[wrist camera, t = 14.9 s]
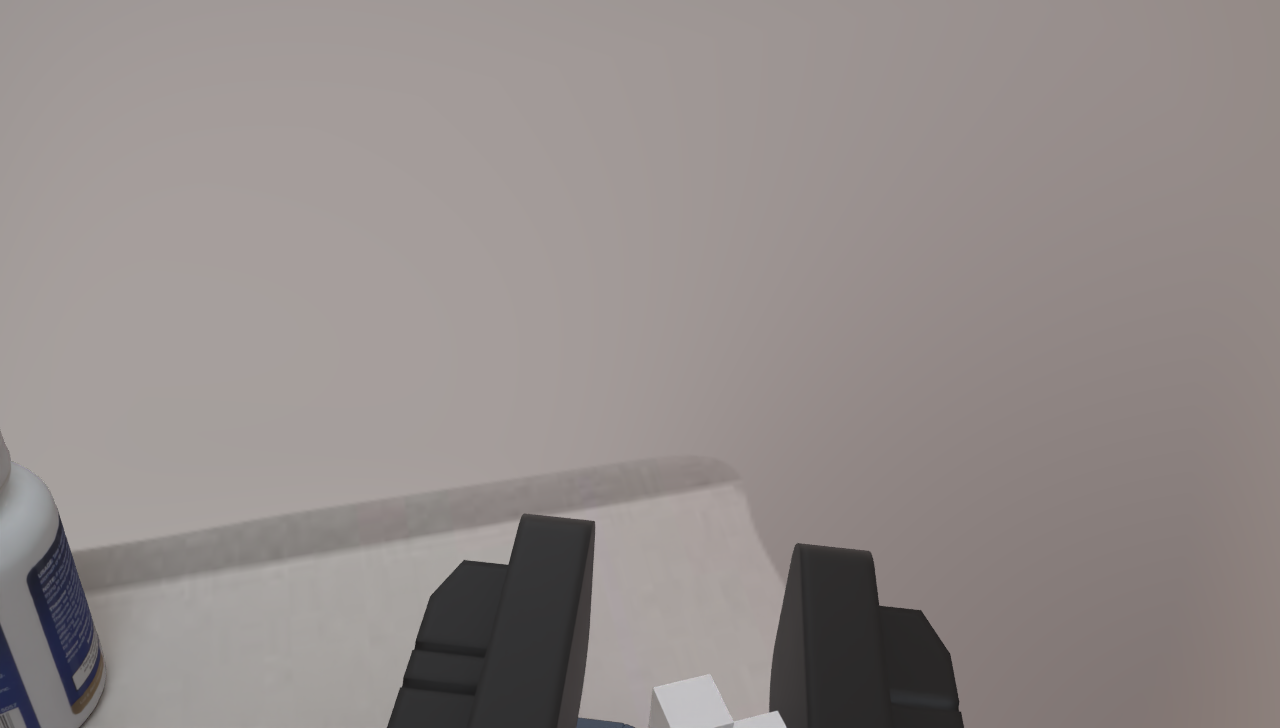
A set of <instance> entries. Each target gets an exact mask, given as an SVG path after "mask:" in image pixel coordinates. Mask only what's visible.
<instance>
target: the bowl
mask: <svg viewBox="0 0 1280 728" xmlns="http://www.w3.org/2000/svg"><path fill="white" fill-rule="evenodd" d="M576 728H635V727H633V726H630V725H628V724H625V725H624V723H619V722H611V721H602V720H594V719H586V718H578V720H577V726H576Z"/></svg>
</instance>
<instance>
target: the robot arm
mask: <svg viewBox="0 0 1280 728" xmlns="http://www.w3.org/2000/svg"><path fill="white" fill-rule="evenodd" d="M594 542H595V521H589V520H579V519H570V518H561V517H551V516H542V515H533V514H523V515H522V517H521V520H520V523H519V526H518V530H517V534H516V538H515V542H514V546H513V549H512V553H511V557H510V561H509V565H504V564H495V563H486V562H476V561H467V560H464V561H463V562H462V563H461V564H460V565H459V566H458V567H457V568H456V569H455V570H454V571H453V572H452V574H451V575H450V576H449V577H448V578H447V579H446V580H445V581H444V582H443V583H442V584H441V585H440V586H439V588H438V589H437V590H436V591H435V592H434V593H433V594H432V595H431V596H430V599H429V602H428V605H427V608H426V611H425V614H424V617H423V620H422V623H421V626H420V629H419V632H418V635H417V638H416V644H415V649H414V650H412V654H411V657H410V660H409V663H408V666H407V669H406V672H405V675H404V678H403V686H402V688H400V690H399V693H398V696H397V699H396V702H395V705H394V708H393V711H392V714H391V717H390V720H389V723H388V726H387V728H576V726H577V720H578V714H579V708H580V701H581V695H582V689H583V682H584V675H585V667H586V659H587V650H588V640H589V628H590V612H591V595H592V577H593V560H594ZM958 706H959V698H958V693H957V688H956V683H955V677H954V672H953V666H952V661H951V656H950V653H949V652H948V650H947V649H946V647H945V646H944V644H943V643H942V641H941V640H940V638H939V637H938V635H937V634H936V632H935V631H934V629H933V628H932V626H931V625H930V623H929V622H928V620H927V619H926V617H925V616H924V614H923V613H922V611H921V610H913V609H904V608H894V607H885V606H879V600H878V592H877V585H876V576H875V568H874V561H873V558H872V554H871V552H869V551H864V550H855V549H846V548H835V547H827V546H818V545H809V544H799V543H798V544H796V545H795V547H794V551H793V554H792V559H791V564H790V569H789V574H788V580H787V584H786V590H785V595H784V600H783V605H782V610H781V615H780V620H779V625H778V630H777V636H776V641H775V646H774V653H773V660H772V669H771V681H770V702H769V713H770V712H774V711H778V712H779V714H780V716H781V718H782V720H783V722H784V723H785V725H786V727H787V728H964V725H963V721H962V715H961V712H959V709H958Z"/></svg>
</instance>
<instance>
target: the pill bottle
mask: <svg viewBox="0 0 1280 728" xmlns="http://www.w3.org/2000/svg"><path fill="white" fill-rule="evenodd" d="M105 679H106V666H105V661H104V656H103V652H102V648H101V644H100V640H99V638H98V635H97V632H96V629H95V626H94V623H93V620H92V616H91V613H90V610H89V607H88V604H87V600H86V597H85V594H84V591H83V588H82V585H81V582H80V579H79V576H78V573H77V569H76V566H75V563H74V560H73V557H72V554H71V550H70V547H69V544H68V542H67V538H66V535H65V532H64V528H63V525H62V522H61V519H60V516H59V512H58V509H57V506H56V504H55V502H54V499H53V497H52V495H51V492H50V491H49V489H48V487H47V486H46V484H45V483H44V482H43V481H42V479H41V478H40V477H39V476H37V475H36V474H35V473H33V472H32V471H31V470H29V469H28V468H26V467H24V466H22V465H20V464H18V463H16V462H13V461H11V459H10V454H9V450H8V448H7V447H6V445H5V442H4V439H3V437H2V434H1V431H0V728H79V727H80V726H81V725H82V724H83V723H84V721H85V720H86V719H87V718H88V717H89V715H90V714H91V712H92V711H93V710H94V708H95V707H96V705H97V703H98V700H99V698H100V696H101V694H102V691H103V689H104V685H105Z"/></svg>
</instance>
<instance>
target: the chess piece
mask: <svg viewBox="0 0 1280 728" xmlns="http://www.w3.org/2000/svg"><path fill="white" fill-rule="evenodd" d="M649 728H787V727H786V725H785V723H784V722H783V720H782V718H781V716H780V714H779V712H778V711H774V712H770V713H766V714H762V715H758V716H754V717H750V718H746V719H743V720H739V721H735V722H734V721H733V719H732V717H731V715H730V713H729V711H728V709H727V707H726V705H725V703H724V701H723V699H722V697H721V695H720V693H719V691H718V689H717V687H716V685H715V683H714V681H713V679H712V677H711V675H710V674H707V675H703V676H699V677H695V678H691V679H686V680H682V681H678V682H674V683H670V684H666V685H661V686H657V687H653V692H652V701H651V710H650V719H649Z"/></svg>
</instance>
